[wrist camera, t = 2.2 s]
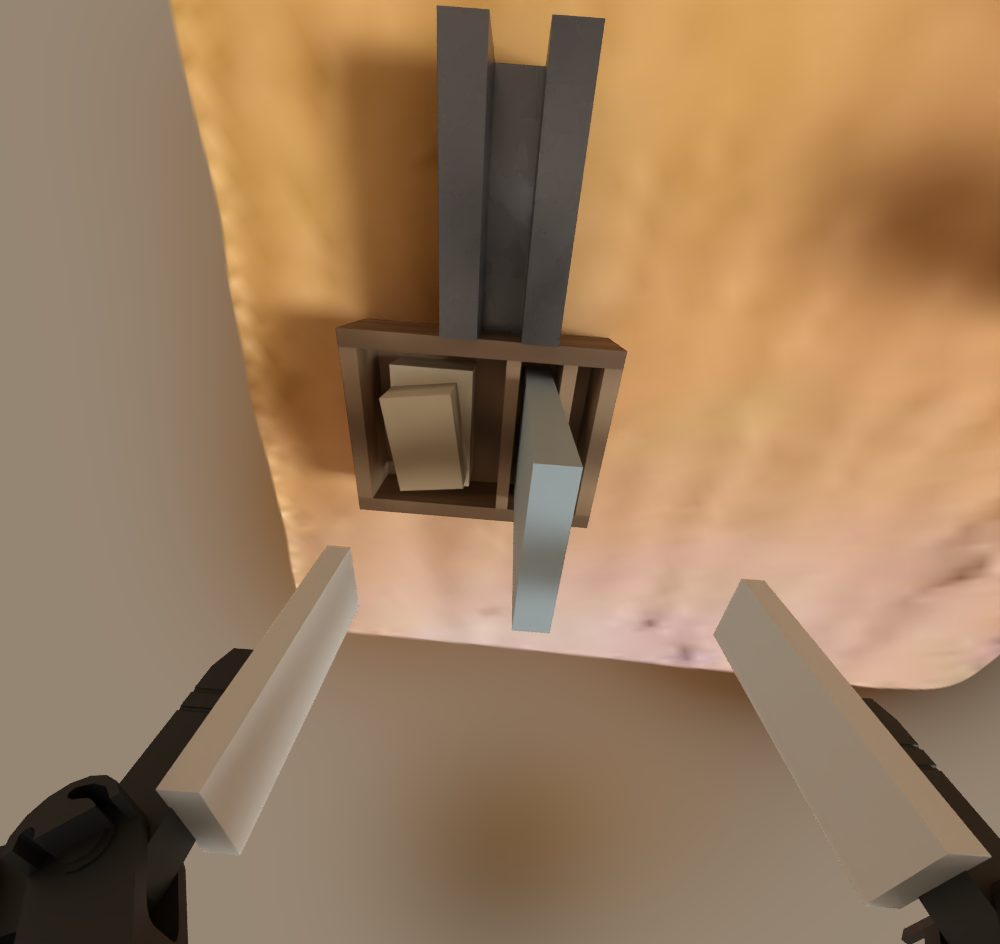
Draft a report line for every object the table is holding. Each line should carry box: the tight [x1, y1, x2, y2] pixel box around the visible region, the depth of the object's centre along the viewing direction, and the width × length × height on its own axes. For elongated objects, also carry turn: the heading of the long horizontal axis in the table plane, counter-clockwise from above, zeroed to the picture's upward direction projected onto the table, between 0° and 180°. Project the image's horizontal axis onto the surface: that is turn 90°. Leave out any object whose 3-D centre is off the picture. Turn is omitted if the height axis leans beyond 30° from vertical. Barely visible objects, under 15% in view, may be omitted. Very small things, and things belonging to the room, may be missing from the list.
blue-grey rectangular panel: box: [512, 366, 583, 633], centre depth 20 cm, size 8×2×14 cm, turn 176°
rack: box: [336, 319, 627, 528], centre depth 25 cm, size 12×16×4 cm
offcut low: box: [389, 356, 477, 486], centre depth 25 cm, size 8×5×2 cm, turn 176°
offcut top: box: [379, 383, 468, 491], centre depth 23 cm, size 6×4×2 cm, turn 4°
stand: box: [437, 6, 605, 347], centre depth 19 cm, size 12×7×5 cm, turn 176°
